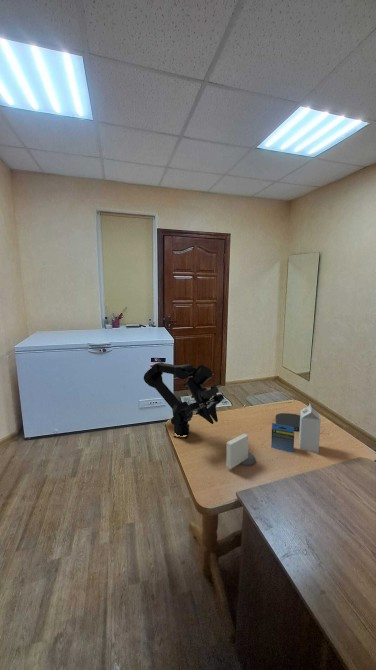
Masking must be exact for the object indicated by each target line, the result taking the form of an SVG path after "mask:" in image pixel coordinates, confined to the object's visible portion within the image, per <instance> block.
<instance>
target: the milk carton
mask: <svg viewBox="0 0 376 670" xmlns="http://www.w3.org/2000/svg"><path fill="white" fill-rule="evenodd" d="M299 415H300V431H298V433H299V434H298V435H299V436H298V437H299V438H298V441H299V442H298V445H299V446H298V447H299V449H300V450H304V451H309V452H311V453H313V454H316V455H319V452H320V438H321V436H320V435H321V416H320V413H319V412H318V411H317V410H315V409H314V408H313V407H312V404H309V405H308V406H307V407H304V408H302V409H301V410H300V414H299Z"/></svg>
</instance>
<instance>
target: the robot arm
mask: <svg viewBox="0 0 376 670" xmlns="http://www.w3.org/2000/svg"><path fill="white" fill-rule="evenodd" d="M163 374H170V375H174V376H175V378H177V379H180V380H184V383H183V387H184V388H185V387H187V388H188V390H189V392H190V394H191V396H190V397H191V399H194V401H195V402H193V403H188V402H187V401H183V402H182V401H180V400H179V399H178V397H176V395H175V394H174V393H173V391H171V389H170V388H169V387H168V386H167V384H165V382H164V381H163ZM212 377H213V371H212V370H211V369H210V368H209V367H208V366H205V365H204V364H199V365H198V366H197V367H194V366H193V364H191V363H190V364H189V363H188V364H182V365H181V364H180V365H178V364H177V365H176V364H171V363H164V362H161V361H160V362H157V363H156V362H155V363H154V364H153V365H152V367H150V368H149V369H148V370H146V372H145V373H144V375H143V381H144V382H145V384H147V385H148V386H149V387H150V388H154V390H156V391H157V392H158V394H159V395H160V396H161V397H162V399H163V400H164V401H165V402H166V403H167V404H168V406H169V407H170V408H171V410H172V416H173V417H171V418H170V423H171V425H173V426H174V427H173V428H174V430H173V431H174V433H176V434H177V435H180V436H183V435H188V436H189V434H190V430H191V429H190V424H189V422H190V421H191V420H192V418H193V417H194V414H193V413H194V411H196V413H195V415H199V416H200V417H201V418H203V419H204V420H206V421H207V422H208V423H210V424H211V425H213V424H214V423H218V422H219V420H218V414H217V405H219V404H221V402H222V401H223V400H225V397H224V395H223V394H222V393H219V388H218V386H217V385H211V386H210V388H209V389H208V388H206V387H203V385H204V384H205V383H207V381H208V380H210V379H211V378H212ZM217 393H218V394H217ZM174 433H173V434H174Z"/></svg>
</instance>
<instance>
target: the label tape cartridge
mask: <svg viewBox="0 0 376 670" xmlns="http://www.w3.org/2000/svg"><path fill="white" fill-rule="evenodd" d="M271 425H272V426H271V445H270V446H271V447H270V448H272V449H276V450H279V451H280V450H281V451H284V452H289V453H294V451H295V431H294V427H292V426H286V425H281V424H276V422H272V423H271ZM279 427H284V428H286V429H281V428H279Z"/></svg>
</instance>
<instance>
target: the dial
mask: <svg viewBox="0 0 376 670" xmlns="http://www.w3.org/2000/svg"><path fill="white" fill-rule="evenodd" d="M255 463H256V457H255V455H253V453H251V452H249V434H246V433H245V432H244V433H242V434H240V435H238V436H236V437H234V438H232V439H231V440H228V441H227V442H226V463H225V464H226V467H227V468H229V469H230V470H231V469H232V468H235V467H236V466H237V465H239V464H240V465H242V466H248V467H249V466H252V465H254V464H255Z"/></svg>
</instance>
